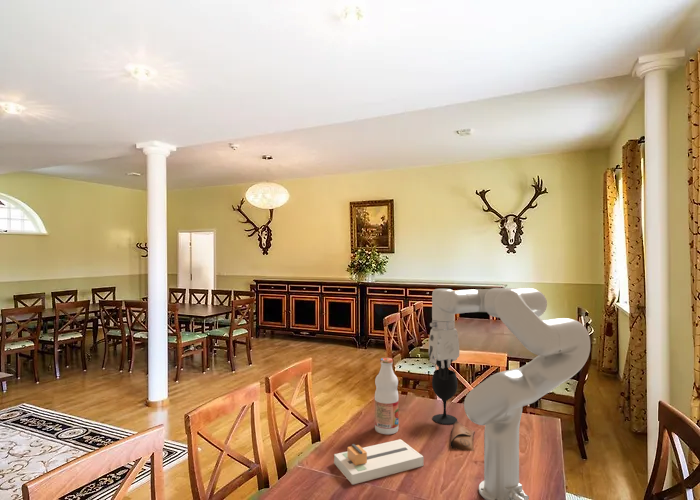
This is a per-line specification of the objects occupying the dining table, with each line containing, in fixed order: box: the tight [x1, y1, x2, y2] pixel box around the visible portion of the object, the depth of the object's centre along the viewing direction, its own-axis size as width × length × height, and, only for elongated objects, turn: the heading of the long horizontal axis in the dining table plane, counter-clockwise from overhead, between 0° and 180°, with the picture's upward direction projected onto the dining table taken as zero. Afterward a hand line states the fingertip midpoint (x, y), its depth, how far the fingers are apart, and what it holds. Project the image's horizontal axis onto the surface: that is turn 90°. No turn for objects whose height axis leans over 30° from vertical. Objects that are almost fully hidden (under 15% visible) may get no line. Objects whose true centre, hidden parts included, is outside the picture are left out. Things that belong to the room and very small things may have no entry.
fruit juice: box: [374, 357, 400, 435], centre depth 163 cm, size 9×9×28 cm
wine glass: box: [431, 369, 458, 426], centre depth 173 cm, size 10×10×20 cm
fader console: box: [333, 438, 425, 486], centre depth 137 cm, size 26×14×3 cm, turn 115°
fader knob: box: [346, 443, 367, 465], centre depth 133 cm, size 4×6×4 cm, turn 25°
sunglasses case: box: [449, 420, 476, 452], centre depth 155 cm, size 18×7×7 cm
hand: (443, 378), depth 141 cm, fingers closed
